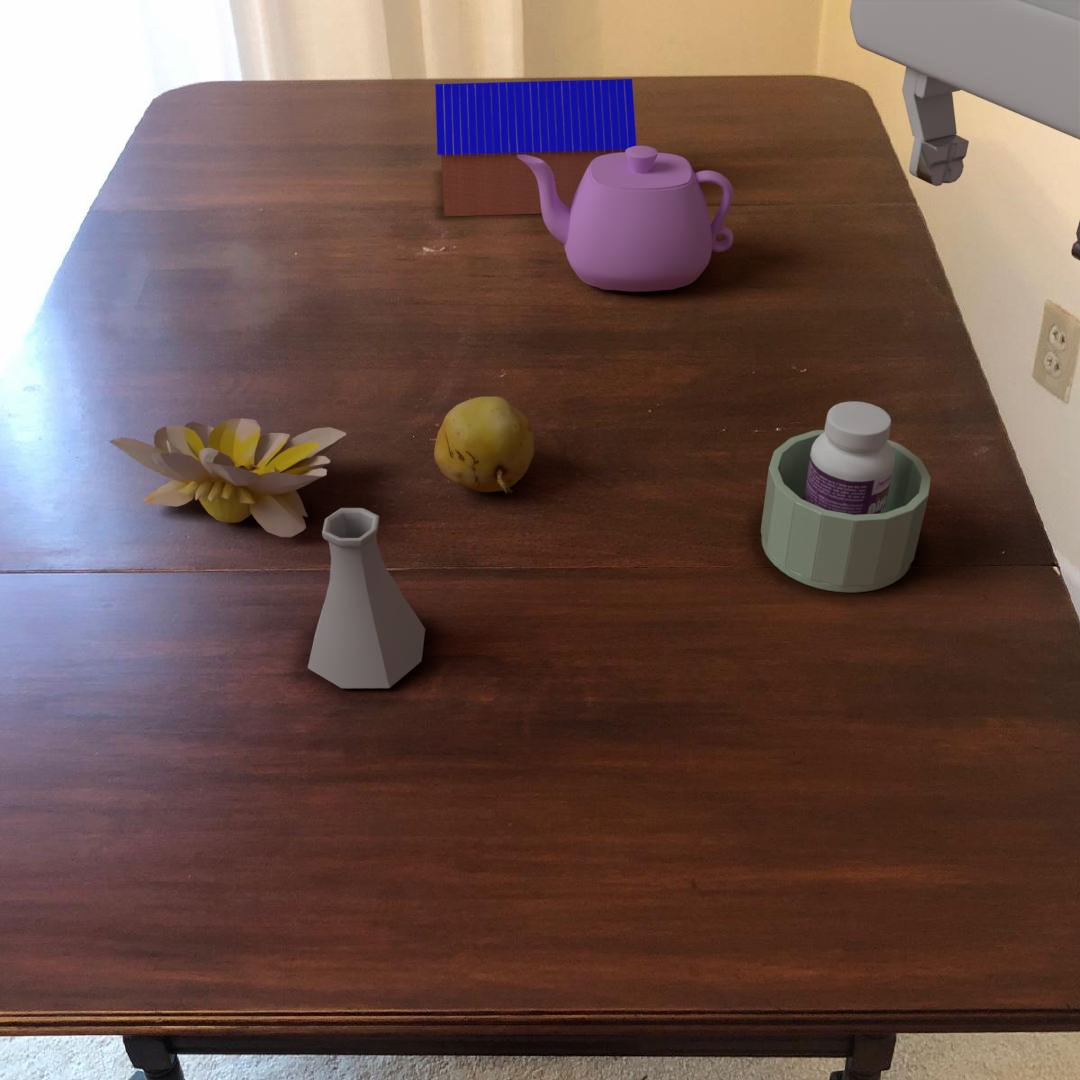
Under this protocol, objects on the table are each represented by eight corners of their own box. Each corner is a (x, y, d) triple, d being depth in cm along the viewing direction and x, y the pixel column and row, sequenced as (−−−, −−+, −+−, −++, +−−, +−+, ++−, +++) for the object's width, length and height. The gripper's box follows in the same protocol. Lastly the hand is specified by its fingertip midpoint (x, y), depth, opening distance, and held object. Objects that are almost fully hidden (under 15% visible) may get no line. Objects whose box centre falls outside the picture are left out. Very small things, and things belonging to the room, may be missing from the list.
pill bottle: (877, 567, 80) (902, 445, 74) (795, 556, 81) (814, 435, 75) (878, 518, 84) (903, 399, 78) (801, 508, 85) (819, 390, 79)
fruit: (558, 446, 83) (527, 370, 90) (459, 438, 81) (436, 361, 88) (534, 526, 87) (506, 447, 94) (439, 520, 84) (419, 440, 92)
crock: (945, 564, 81) (964, 491, 78) (821, 611, 78) (834, 537, 74) (849, 484, 89) (862, 414, 85) (731, 524, 85) (739, 453, 81)
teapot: (723, 240, 121) (733, 122, 114) (737, 304, 111) (750, 178, 103) (521, 241, 121) (518, 123, 114) (517, 304, 111) (513, 179, 104)
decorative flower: (393, 456, 89) (354, 352, 81) (321, 574, 83) (272, 474, 75) (223, 426, 94) (172, 326, 87) (144, 535, 88) (81, 438, 80)
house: (442, 173, 135) (436, 65, 128) (622, 167, 136) (626, 60, 129) (441, 217, 126) (434, 104, 119) (634, 211, 127) (638, 98, 119)
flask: (287, 678, 74) (262, 549, 68) (340, 602, 79) (322, 476, 73) (397, 705, 72) (382, 575, 66) (444, 626, 77) (434, 499, 71)
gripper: (840, -197, 48) (797, 149, 57) (1303, -102, 34) (1151, 342, 42) (964, -208, 50) (905, 126, 59) (1448, -124, 36) (1276, 302, 44)
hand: (1011, 218), depth 50 cm, fingers open, 8 cm apart
